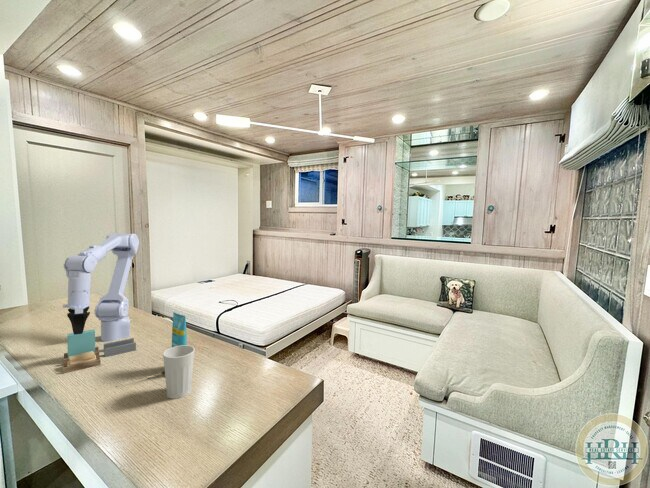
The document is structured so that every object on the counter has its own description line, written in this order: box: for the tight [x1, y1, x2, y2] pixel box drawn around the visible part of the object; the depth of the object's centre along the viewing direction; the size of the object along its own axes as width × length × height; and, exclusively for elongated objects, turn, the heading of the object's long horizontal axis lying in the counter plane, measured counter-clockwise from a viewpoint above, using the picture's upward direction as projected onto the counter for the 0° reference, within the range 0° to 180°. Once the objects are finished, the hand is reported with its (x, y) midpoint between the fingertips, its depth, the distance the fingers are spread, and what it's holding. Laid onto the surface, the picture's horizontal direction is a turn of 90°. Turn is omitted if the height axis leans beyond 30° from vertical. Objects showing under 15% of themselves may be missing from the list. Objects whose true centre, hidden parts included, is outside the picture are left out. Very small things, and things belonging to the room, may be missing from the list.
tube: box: [171, 311, 188, 348], centre depth 90 cm, size 7×5×19 cm, turn 60°
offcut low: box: [67, 355, 96, 367], centre depth 91 cm, size 7×4×2 cm, turn 132°
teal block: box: [66, 329, 96, 358], centre depth 95 cm, size 7×3×9 cm, turn 132°
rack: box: [62, 346, 101, 375], centre depth 93 cm, size 9×13×3 cm
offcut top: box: [69, 351, 95, 365], centre depth 91 cm, size 6×3×2 cm, turn 140°
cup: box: [162, 344, 196, 400], centre depth 80 cm, size 8×8×12 cm
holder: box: [103, 337, 137, 358], centre depth 102 cm, size 9×7×4 cm
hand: (78, 331), depth 94 cm, fingers open, 7 cm apart
